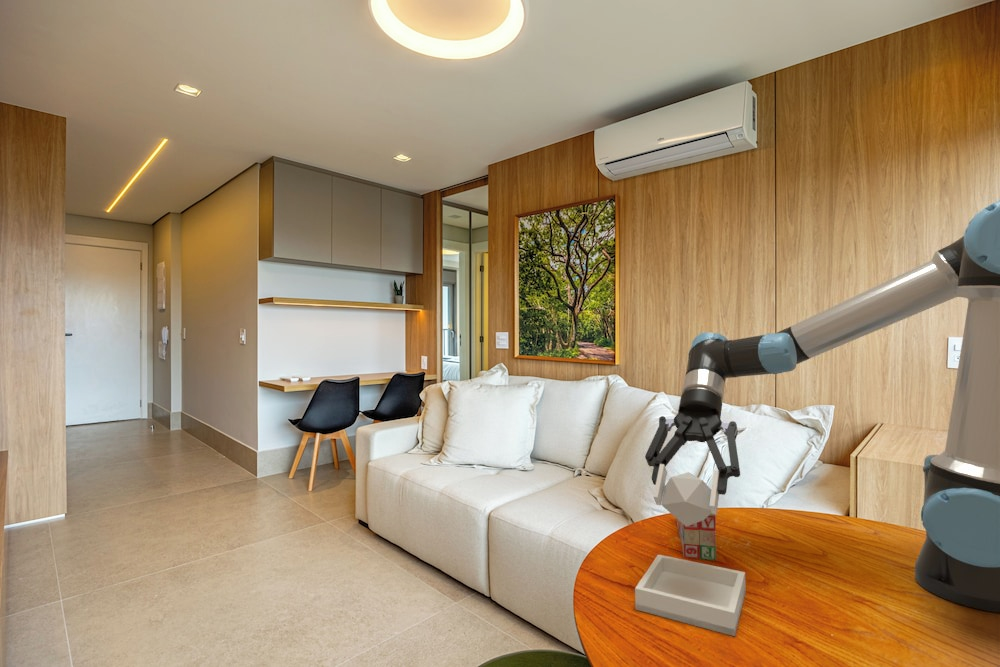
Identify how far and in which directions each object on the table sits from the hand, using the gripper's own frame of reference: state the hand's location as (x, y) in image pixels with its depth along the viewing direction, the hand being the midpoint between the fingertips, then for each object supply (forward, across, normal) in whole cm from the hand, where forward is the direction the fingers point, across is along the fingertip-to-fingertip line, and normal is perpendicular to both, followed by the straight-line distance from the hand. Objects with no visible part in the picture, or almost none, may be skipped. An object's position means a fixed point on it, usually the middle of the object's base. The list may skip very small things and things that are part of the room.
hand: (684, 505), depth 83 cm
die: (0, 0, -5) cm, 5 cm away
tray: (+10, 0, -14) cm, 17 cm away
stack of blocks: (-9, +5, -34) cm, 35 cm away
